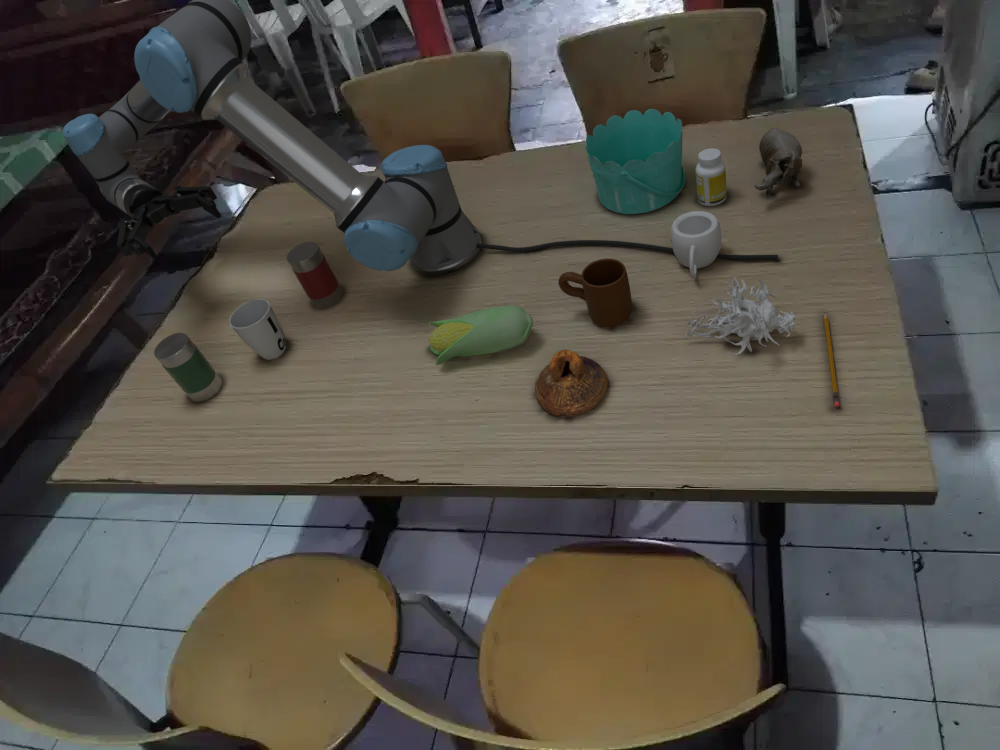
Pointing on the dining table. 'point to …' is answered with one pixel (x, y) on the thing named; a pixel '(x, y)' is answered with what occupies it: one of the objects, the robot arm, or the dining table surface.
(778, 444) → the dining table surface
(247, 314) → the cup
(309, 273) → the maroon can
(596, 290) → the mug
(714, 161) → the supplement bottle
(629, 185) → the bucket
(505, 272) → the dining table surface
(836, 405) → the pencil
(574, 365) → the bell
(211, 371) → the green can
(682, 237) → the mug
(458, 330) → the corn
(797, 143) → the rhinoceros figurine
